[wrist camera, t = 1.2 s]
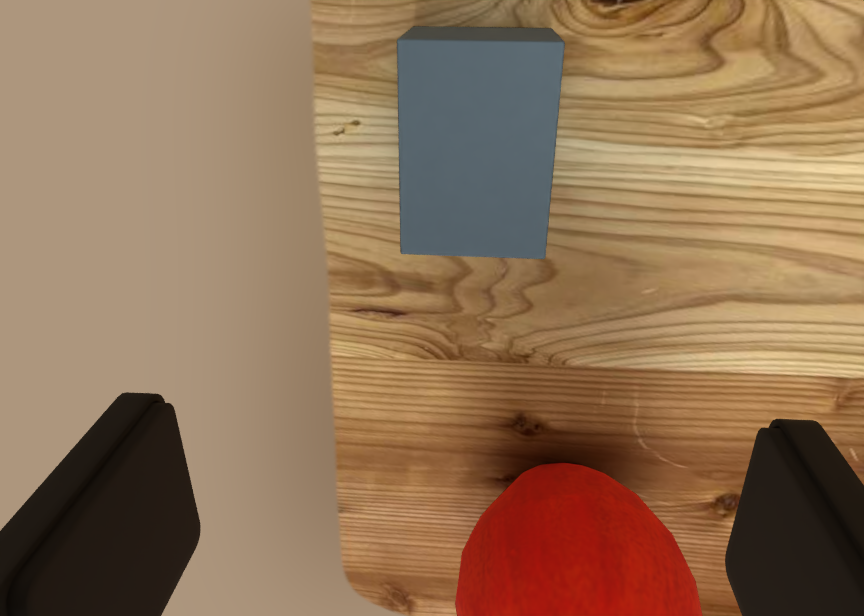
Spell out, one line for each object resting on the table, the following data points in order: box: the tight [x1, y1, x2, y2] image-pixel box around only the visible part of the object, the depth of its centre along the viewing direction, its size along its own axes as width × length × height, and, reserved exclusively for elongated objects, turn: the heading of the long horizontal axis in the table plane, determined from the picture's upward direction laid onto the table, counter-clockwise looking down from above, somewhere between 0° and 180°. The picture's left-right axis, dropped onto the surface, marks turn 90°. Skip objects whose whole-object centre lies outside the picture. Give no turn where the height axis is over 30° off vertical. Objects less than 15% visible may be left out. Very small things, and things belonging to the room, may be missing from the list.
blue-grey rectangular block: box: [397, 26, 565, 259], centre depth 23 cm, size 7×5×4 cm
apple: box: [455, 463, 702, 616], centre depth 28 cm, size 10×10×12 cm
